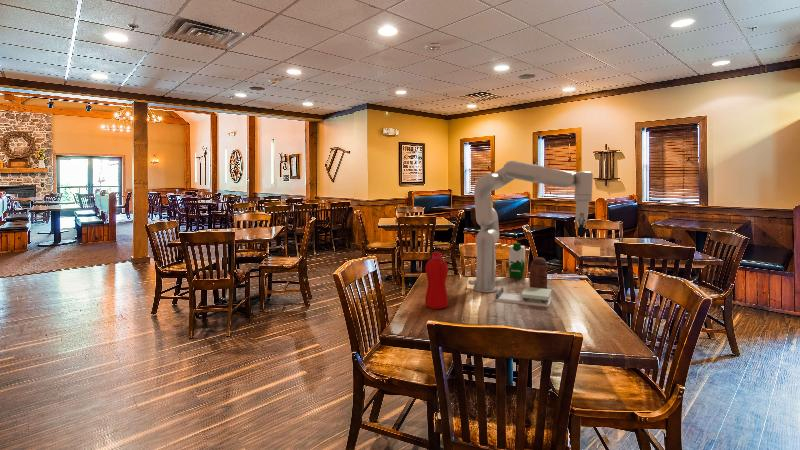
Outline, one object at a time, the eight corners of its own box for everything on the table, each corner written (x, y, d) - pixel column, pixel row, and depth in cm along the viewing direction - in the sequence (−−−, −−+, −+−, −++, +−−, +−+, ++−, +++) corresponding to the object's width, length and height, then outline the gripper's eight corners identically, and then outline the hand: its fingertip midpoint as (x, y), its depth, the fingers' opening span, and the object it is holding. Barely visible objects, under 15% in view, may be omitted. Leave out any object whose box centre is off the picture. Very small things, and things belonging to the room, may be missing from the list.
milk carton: (508, 277, 256) (508, 243, 254) (509, 274, 265) (510, 241, 262) (523, 279, 253) (524, 244, 251) (524, 275, 262) (525, 242, 259)
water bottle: (435, 311, 195) (435, 255, 192) (422, 305, 205) (422, 251, 202) (452, 308, 199) (453, 253, 196) (439, 302, 209) (439, 249, 206)
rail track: (495, 300, 211) (495, 293, 210) (500, 294, 223) (500, 287, 222) (548, 306, 201) (548, 299, 201) (551, 299, 213) (551, 292, 213)
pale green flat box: (521, 301, 205) (521, 294, 205) (525, 293, 218) (525, 286, 218) (548, 303, 201) (548, 296, 200) (551, 296, 213) (551, 289, 213)
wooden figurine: (551, 294, 221) (552, 259, 219) (540, 296, 219) (541, 260, 217) (537, 289, 232) (538, 255, 230) (526, 290, 230) (527, 255, 228)
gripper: (575, 197, 217) (573, 231, 219) (573, 199, 201) (571, 236, 203) (591, 197, 214) (590, 232, 216) (591, 199, 198) (589, 237, 200)
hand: (581, 234), depth 209 cm, fingers open, 9 cm apart
